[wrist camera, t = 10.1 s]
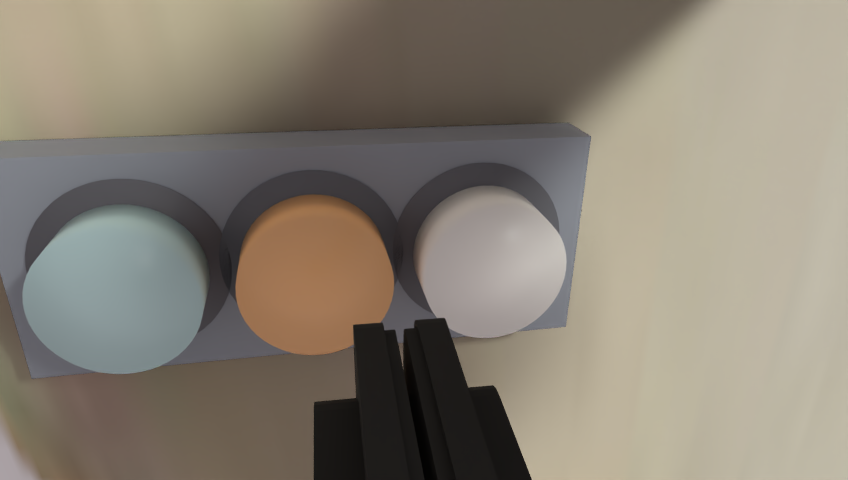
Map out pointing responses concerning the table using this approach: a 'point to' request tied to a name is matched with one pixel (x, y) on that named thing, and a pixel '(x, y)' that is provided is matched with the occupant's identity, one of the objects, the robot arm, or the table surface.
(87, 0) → the table surface
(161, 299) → the teal button
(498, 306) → the cream button
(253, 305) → the orange button
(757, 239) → the table surface
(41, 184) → the button panel
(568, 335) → the table surface
